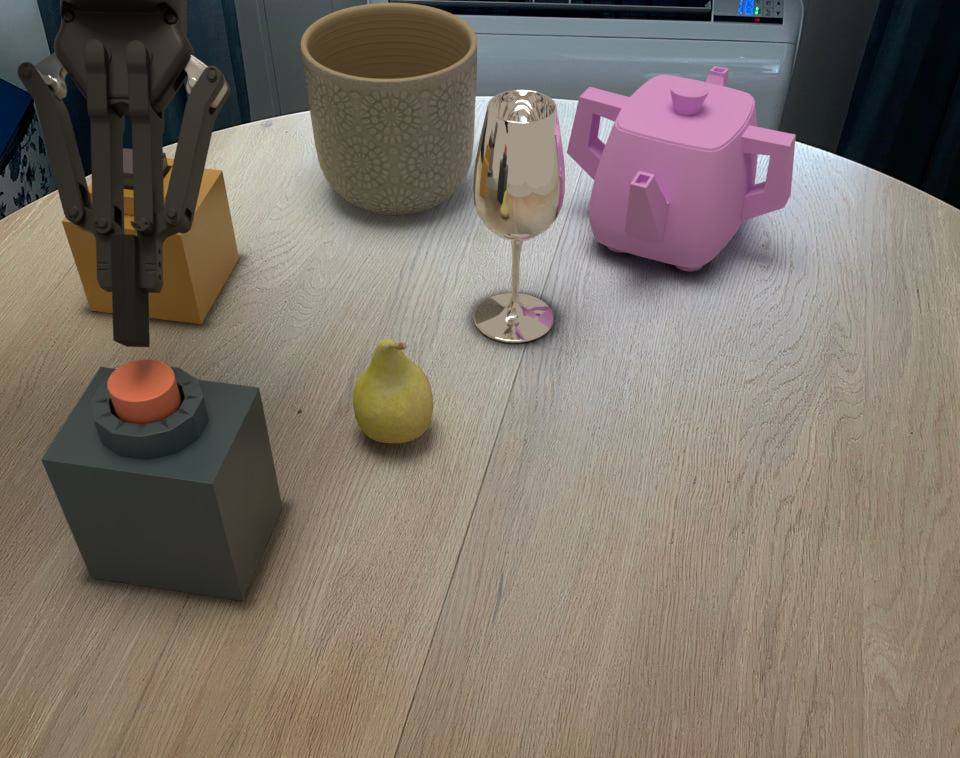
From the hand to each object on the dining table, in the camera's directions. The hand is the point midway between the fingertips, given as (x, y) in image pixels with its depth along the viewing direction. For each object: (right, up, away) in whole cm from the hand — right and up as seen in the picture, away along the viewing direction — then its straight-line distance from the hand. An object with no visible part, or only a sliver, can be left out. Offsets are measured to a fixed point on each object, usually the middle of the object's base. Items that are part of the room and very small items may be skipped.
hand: (131, 343), depth 70 cm
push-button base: (-8, +15, +35) cm, 39 cm away
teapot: (+42, +22, +41) cm, 62 cm away
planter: (+14, +29, +46) cm, 56 cm away
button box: (0, -12, +14) cm, 18 cm away
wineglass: (+26, +11, +32) cm, 42 cm away
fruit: (+15, -2, +22) cm, 27 cm away
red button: (0, -3, +3) cm, 5 cm away
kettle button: (-8, +22, +26) cm, 35 cm away
